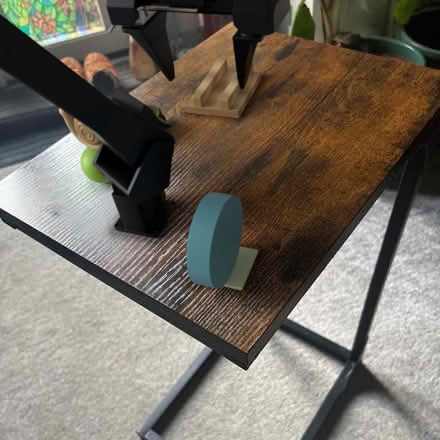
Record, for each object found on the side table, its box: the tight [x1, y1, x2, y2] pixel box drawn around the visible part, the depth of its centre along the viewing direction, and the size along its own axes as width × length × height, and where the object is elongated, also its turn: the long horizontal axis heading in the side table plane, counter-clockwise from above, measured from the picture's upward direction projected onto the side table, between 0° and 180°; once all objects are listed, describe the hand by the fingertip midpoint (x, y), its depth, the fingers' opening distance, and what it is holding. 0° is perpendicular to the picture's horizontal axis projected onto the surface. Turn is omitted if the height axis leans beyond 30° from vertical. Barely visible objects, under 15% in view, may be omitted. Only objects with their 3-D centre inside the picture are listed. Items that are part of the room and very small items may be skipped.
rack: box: [185, 57, 263, 119], centre depth 75 cm, size 12×9×3 cm
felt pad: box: [223, 245, 259, 291], centre depth 54 cm, size 6×6×1 cm
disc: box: [186, 191, 244, 290], centre depth 49 cm, size 10×2×10 cm
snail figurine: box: [58, 108, 111, 184], centre depth 62 cm, size 5×6×12 cm
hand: (206, 83), depth 54 cm, fingers open, 9 cm apart
